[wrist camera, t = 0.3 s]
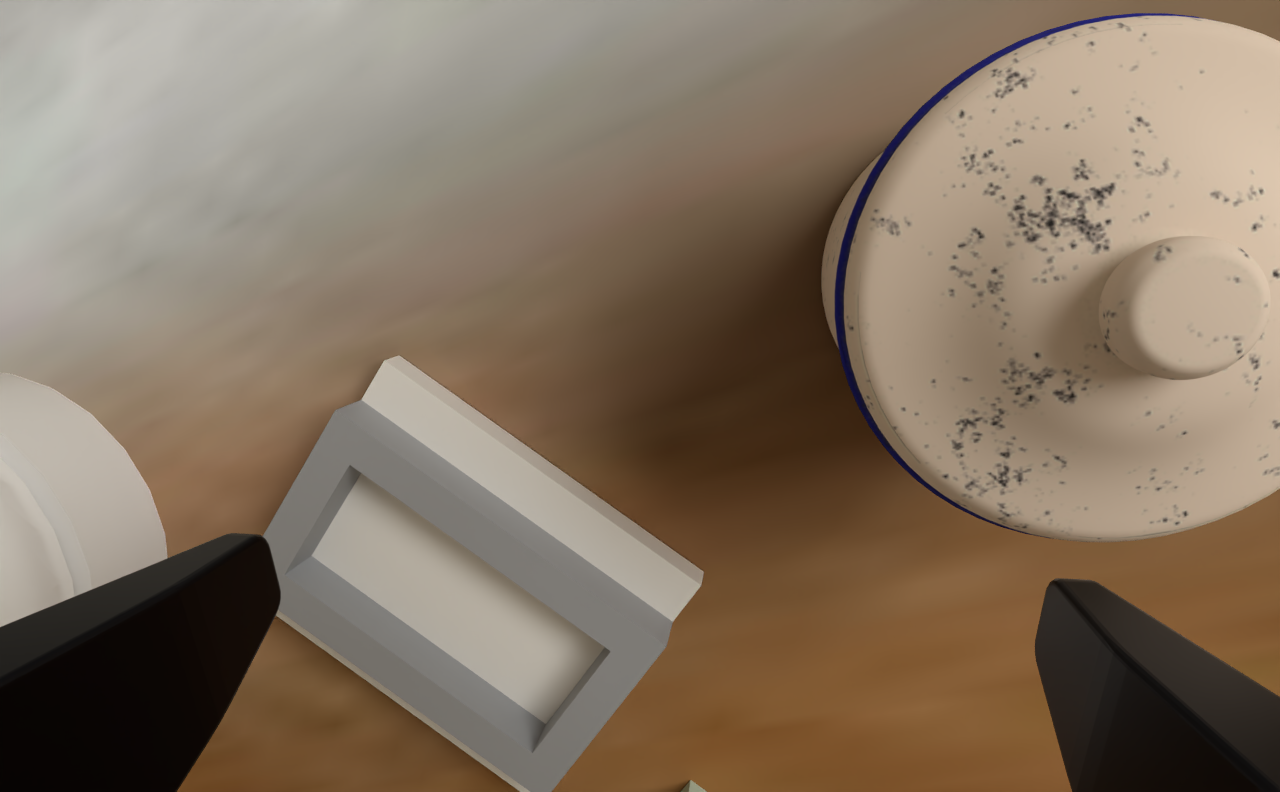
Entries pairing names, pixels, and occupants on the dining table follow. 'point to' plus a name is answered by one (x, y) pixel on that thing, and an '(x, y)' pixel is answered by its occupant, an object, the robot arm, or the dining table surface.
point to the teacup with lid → (1076, 281)
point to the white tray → (471, 577)
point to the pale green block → (692, 787)
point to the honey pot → (65, 502)
